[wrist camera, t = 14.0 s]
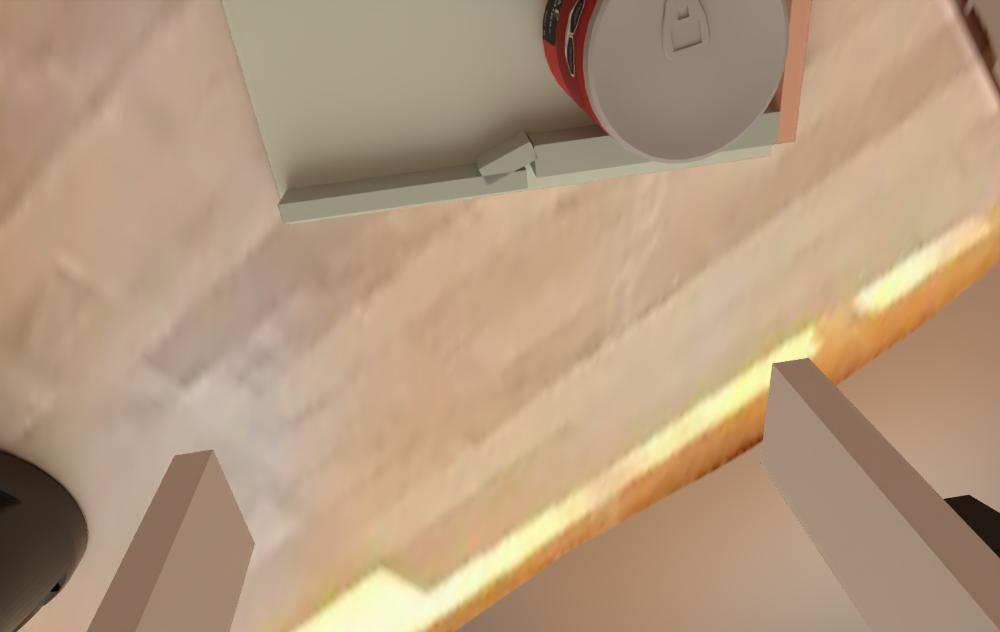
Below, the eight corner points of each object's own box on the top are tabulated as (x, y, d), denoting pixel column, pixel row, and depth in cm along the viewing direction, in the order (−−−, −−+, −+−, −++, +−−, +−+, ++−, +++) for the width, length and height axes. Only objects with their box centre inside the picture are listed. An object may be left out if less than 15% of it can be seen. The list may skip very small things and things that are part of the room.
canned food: (644, -98, 30) (745, -122, 21) (710, 54, 34) (821, 92, 24) (508, 1, 32) (544, 20, 22) (585, 135, 35) (644, 202, 26)
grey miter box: (291, 217, 37) (279, 242, 34) (195, -112, 29) (167, -120, 26) (760, 150, 38) (791, 168, 35) (792, -185, 30) (836, -202, 27)
